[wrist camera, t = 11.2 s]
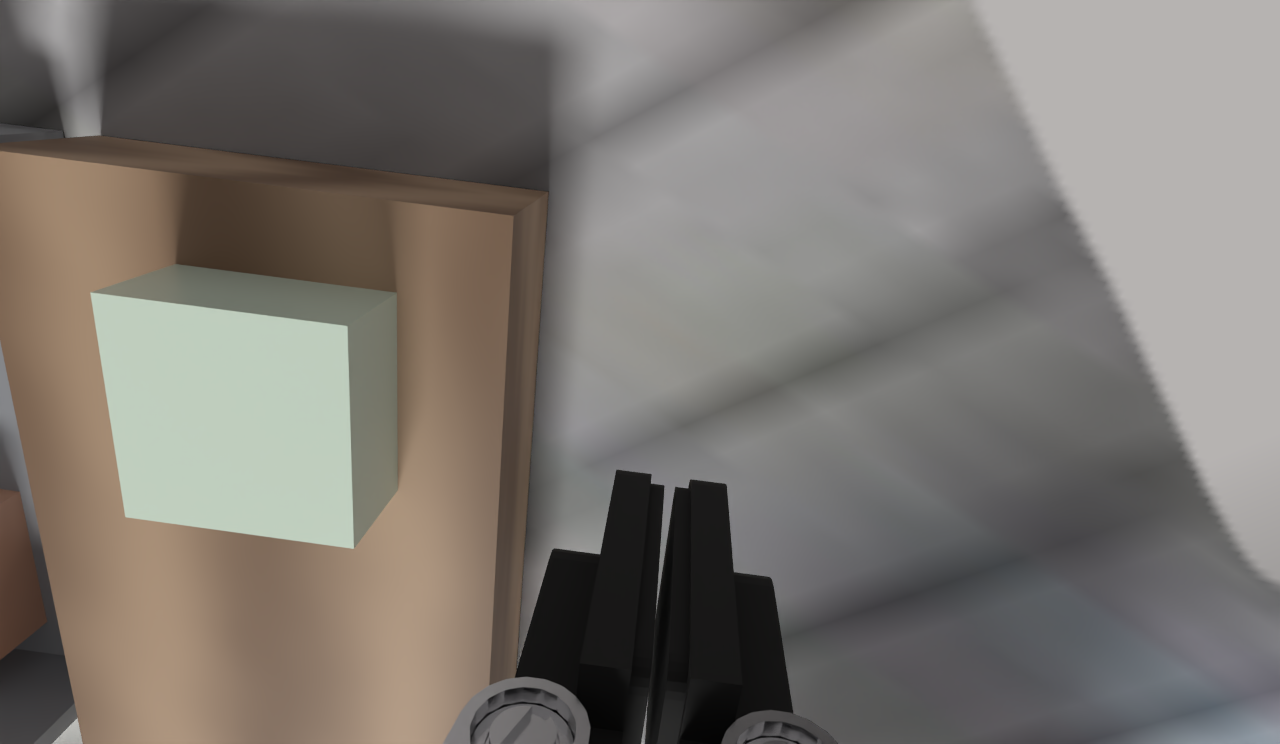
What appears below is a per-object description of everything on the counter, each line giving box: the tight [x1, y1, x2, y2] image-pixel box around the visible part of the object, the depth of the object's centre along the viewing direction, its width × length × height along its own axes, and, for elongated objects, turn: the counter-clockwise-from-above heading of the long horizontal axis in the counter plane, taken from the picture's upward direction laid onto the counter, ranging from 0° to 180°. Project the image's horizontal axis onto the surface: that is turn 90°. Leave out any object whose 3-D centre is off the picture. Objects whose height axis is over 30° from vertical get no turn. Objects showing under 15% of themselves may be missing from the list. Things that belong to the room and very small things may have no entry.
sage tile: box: [90, 264, 398, 549], centre depth 16 cm, size 5×5×2 cm
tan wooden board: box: [0, 136, 549, 744], centre depth 21 cm, size 12×18×4 cm, turn 173°
